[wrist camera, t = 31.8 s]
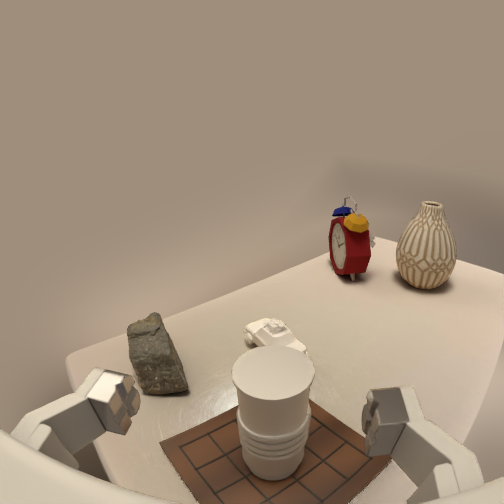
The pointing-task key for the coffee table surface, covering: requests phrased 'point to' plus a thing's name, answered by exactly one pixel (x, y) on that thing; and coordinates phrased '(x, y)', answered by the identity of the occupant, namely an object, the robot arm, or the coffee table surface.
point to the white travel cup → (273, 408)
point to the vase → (427, 248)
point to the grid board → (269, 491)
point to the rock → (155, 357)
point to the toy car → (272, 334)
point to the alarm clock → (349, 241)
